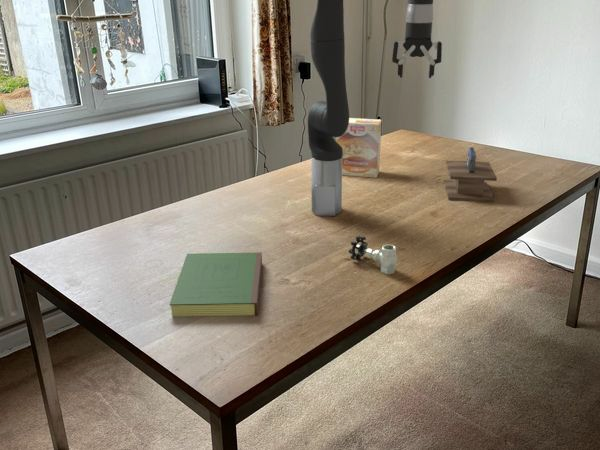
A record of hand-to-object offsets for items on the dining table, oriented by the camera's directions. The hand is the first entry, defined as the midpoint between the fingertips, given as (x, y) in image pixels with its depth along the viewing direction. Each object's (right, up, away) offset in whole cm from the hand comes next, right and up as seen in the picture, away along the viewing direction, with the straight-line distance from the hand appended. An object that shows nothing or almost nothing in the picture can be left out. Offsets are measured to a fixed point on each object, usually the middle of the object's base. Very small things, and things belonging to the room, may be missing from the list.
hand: (415, 77), depth 179 cm
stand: (+21, -33, +18) cm, 43 cm away
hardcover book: (-53, -60, -38) cm, 88 cm away
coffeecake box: (-14, -26, +37) cm, 47 cm away
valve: (-16, -55, -28) cm, 64 cm away
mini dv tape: (+21, -26, +15) cm, 37 cm away
